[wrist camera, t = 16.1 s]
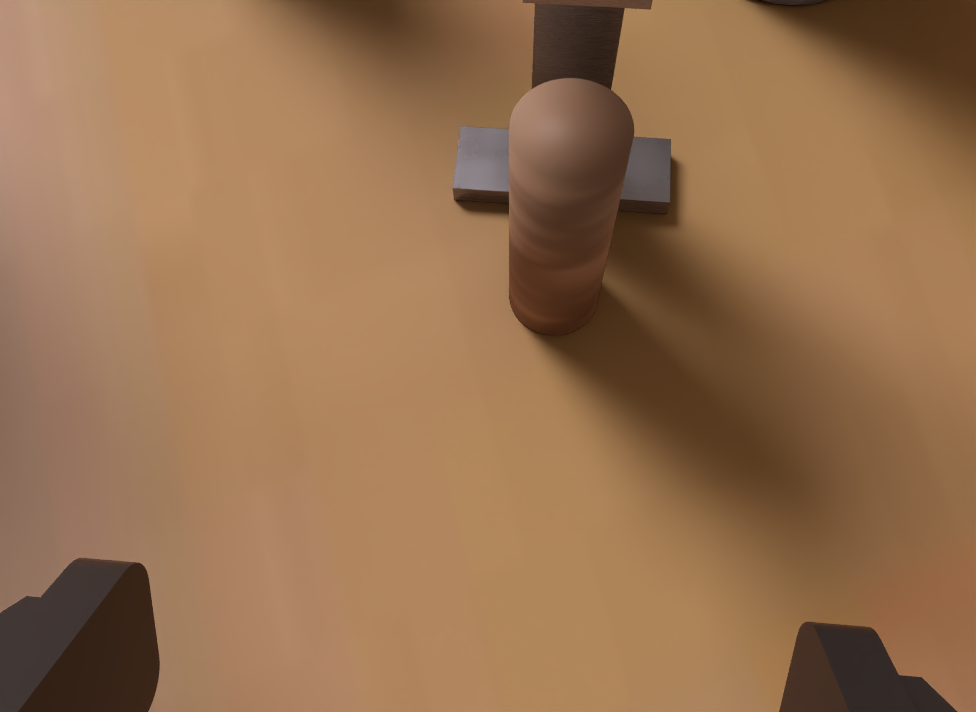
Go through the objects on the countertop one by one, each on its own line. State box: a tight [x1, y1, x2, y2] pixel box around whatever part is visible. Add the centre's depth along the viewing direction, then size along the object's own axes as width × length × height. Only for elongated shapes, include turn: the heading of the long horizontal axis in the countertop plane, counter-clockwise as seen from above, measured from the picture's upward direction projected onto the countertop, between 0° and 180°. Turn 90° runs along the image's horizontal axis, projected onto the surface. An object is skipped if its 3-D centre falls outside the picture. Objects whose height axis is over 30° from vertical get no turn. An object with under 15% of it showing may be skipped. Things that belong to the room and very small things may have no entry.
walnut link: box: [509, 78, 634, 336], centre depth 33 cm, size 4×4×12 cm
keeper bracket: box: [453, 0, 671, 214], centre depth 30 cm, size 10×10×21 cm
